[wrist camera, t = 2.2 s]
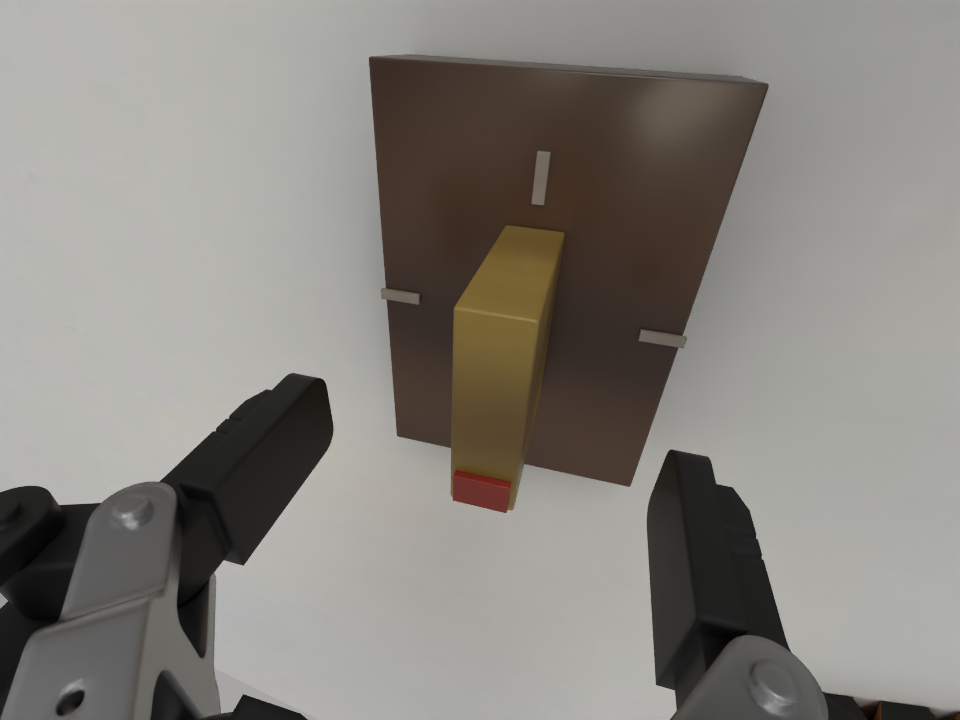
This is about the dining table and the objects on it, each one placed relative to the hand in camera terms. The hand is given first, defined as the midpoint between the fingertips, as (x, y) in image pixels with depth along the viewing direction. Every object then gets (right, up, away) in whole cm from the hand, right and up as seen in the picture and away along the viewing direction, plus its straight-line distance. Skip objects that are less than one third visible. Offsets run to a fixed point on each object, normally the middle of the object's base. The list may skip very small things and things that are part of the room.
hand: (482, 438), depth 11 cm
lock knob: (+1, +3, +5) cm, 6 cm away
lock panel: (+2, +5, +7) cm, 9 cm away
